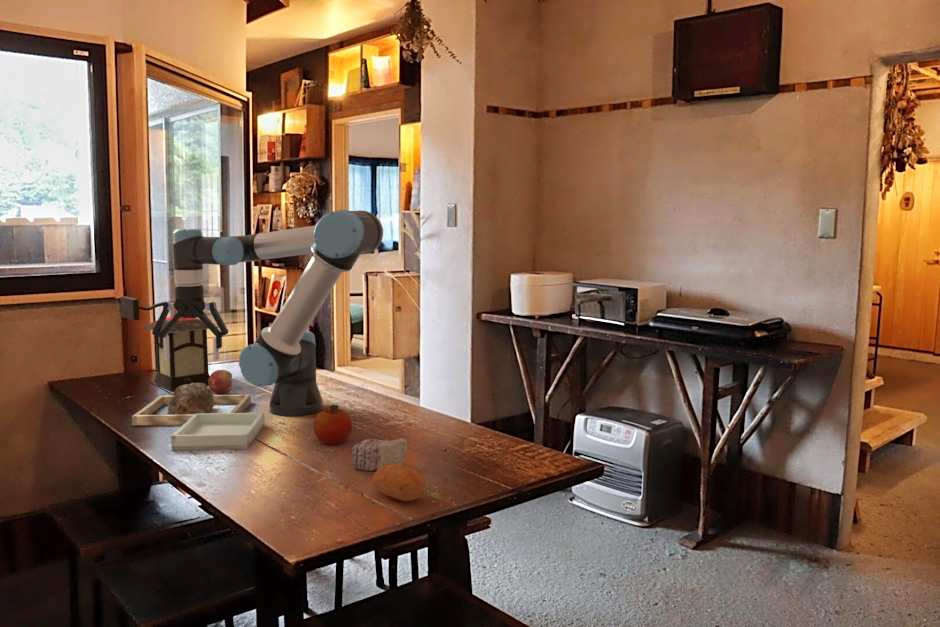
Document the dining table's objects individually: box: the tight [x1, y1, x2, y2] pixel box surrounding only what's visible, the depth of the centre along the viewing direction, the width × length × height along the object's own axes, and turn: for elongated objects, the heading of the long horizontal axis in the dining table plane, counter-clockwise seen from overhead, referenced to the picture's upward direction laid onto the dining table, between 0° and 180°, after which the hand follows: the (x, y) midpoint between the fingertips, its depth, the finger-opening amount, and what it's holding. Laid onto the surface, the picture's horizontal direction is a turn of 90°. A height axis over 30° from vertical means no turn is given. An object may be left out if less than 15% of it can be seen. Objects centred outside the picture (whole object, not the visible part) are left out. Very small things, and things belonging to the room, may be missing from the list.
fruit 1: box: [208, 369, 233, 395], centre depth 244 cm, size 8×8×8 cm
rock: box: [166, 383, 215, 415], centre depth 222 cm, size 14×9×10 cm
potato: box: [372, 464, 426, 503], centre depth 158 cm, size 7×13×7 cm, turn 41°
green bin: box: [170, 412, 265, 451], centre depth 200 cm, size 18×21×4 cm
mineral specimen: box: [351, 437, 409, 472], centre depth 178 cm, size 13×7×6 cm, turn 111°
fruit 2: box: [312, 404, 353, 446], centre depth 195 cm, size 10×10×10 cm
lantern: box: [119, 296, 219, 392], centre depth 254 cm, size 18×26×30 cm
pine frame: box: [131, 394, 252, 426], centre depth 223 cm, size 26×23×2 cm
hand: (191, 360), depth 221 cm, fingers open, 13 cm apart
